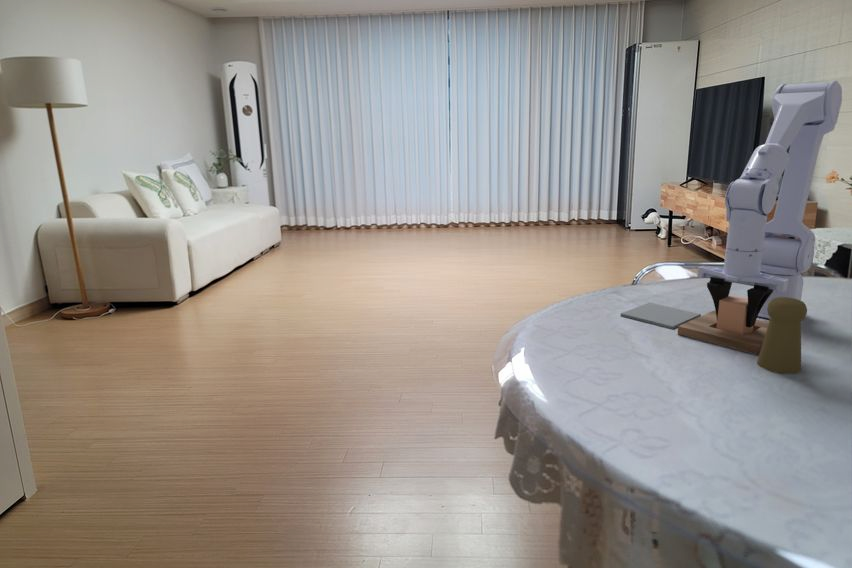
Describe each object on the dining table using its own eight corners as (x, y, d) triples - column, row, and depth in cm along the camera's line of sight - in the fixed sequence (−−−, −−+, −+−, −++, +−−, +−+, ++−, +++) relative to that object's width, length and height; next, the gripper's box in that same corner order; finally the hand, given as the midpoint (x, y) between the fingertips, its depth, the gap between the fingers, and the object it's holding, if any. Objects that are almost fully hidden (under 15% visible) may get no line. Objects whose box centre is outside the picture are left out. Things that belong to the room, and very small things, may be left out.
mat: (649, 304, 126) (649, 302, 126) (700, 316, 118) (700, 314, 118) (620, 315, 119) (620, 313, 119) (672, 328, 111) (672, 326, 111)
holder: (713, 317, 117) (713, 310, 117) (791, 335, 107) (792, 327, 106) (677, 333, 108) (678, 326, 108) (758, 354, 98) (759, 346, 97)
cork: (808, 374, 90) (818, 305, 87) (764, 372, 91) (773, 303, 88) (792, 359, 96) (802, 294, 93) (751, 357, 97) (760, 293, 94)
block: (726, 328, 110) (730, 295, 109) (752, 334, 107) (756, 300, 105) (715, 334, 108) (719, 300, 106) (741, 340, 104) (745, 305, 103)
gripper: (692, 246, 106) (685, 318, 110) (780, 258, 95) (769, 337, 99) (710, 240, 111) (703, 310, 114) (796, 252, 100) (785, 328, 103)
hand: (735, 322), depth 107 cm, fingers closed on block, 4 cm apart
